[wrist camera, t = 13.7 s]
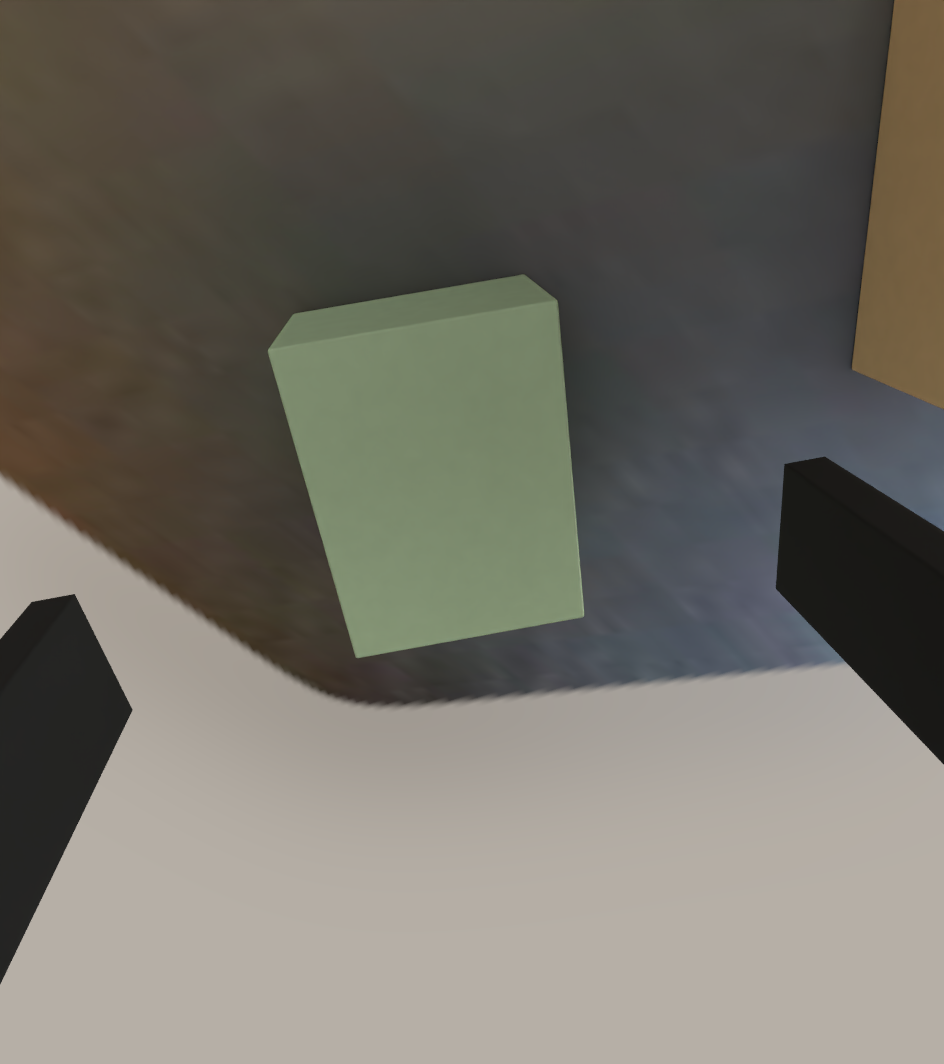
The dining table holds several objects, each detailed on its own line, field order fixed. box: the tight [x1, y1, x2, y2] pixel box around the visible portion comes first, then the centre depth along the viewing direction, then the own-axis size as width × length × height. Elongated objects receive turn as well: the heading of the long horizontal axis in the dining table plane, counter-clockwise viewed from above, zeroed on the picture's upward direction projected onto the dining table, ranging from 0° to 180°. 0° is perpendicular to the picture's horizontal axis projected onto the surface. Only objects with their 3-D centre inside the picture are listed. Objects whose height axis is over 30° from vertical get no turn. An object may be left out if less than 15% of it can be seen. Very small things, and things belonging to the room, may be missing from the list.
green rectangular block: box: [268, 274, 584, 658], centre depth 18 cm, size 8×6×4 cm
